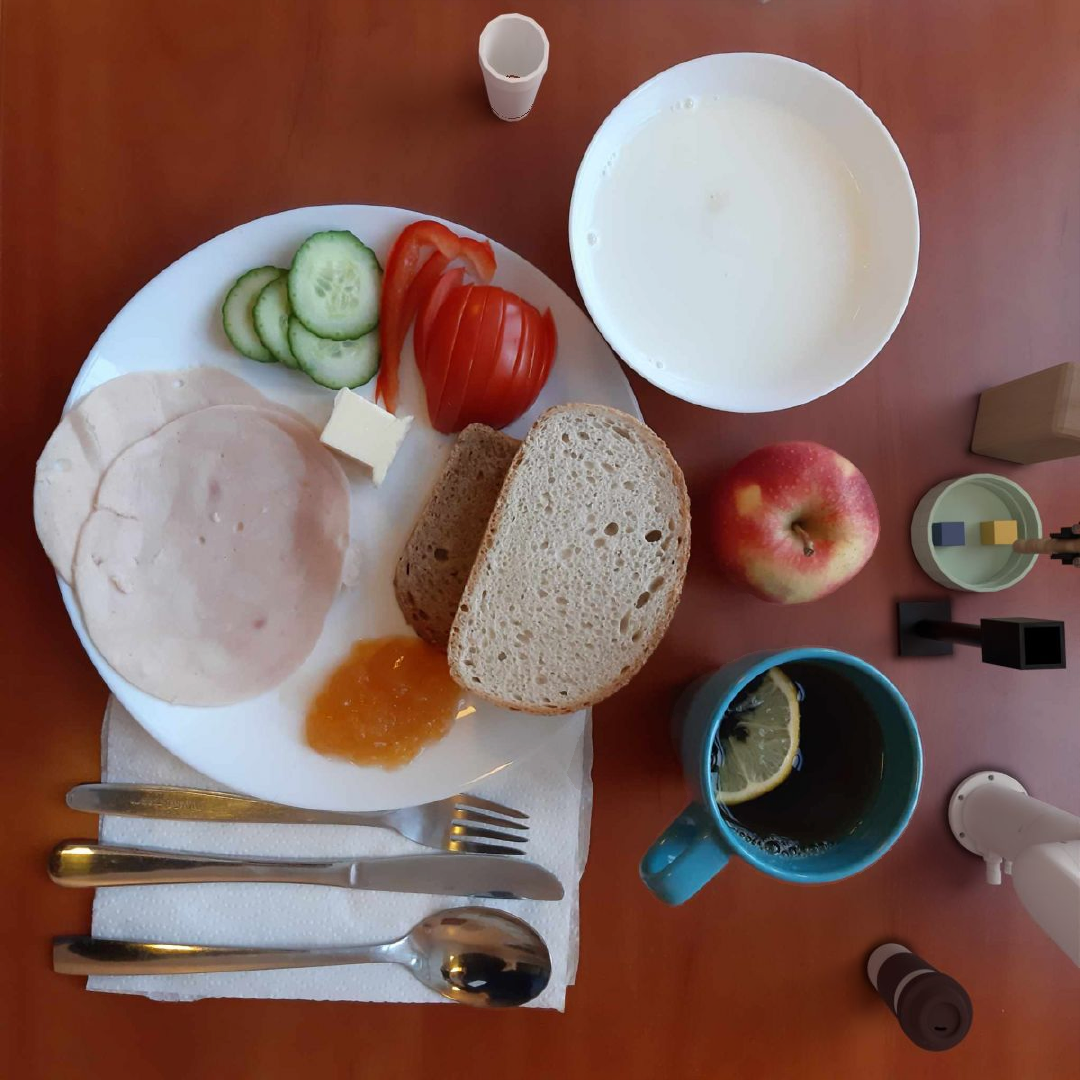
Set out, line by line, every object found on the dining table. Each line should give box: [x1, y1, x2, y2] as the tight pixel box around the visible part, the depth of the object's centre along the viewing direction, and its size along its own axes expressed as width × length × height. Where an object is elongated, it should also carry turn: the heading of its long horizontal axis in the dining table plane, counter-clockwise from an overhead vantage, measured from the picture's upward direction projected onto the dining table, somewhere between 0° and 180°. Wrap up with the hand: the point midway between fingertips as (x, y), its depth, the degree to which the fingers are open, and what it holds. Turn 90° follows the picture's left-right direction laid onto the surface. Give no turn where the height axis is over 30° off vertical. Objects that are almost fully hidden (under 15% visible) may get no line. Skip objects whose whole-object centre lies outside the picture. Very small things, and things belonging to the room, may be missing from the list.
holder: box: [895, 600, 1067, 671], centre depth 115 cm, size 8×8×28 cm
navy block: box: [931, 522, 965, 546], centre depth 127 cm, size 4×4×4 cm
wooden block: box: [971, 360, 1080, 466], centre depth 120 cm, size 10×10×20 cm
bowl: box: [910, 473, 1043, 593], centre depth 126 cm, size 17×17×6 cm
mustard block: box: [980, 520, 1017, 545], centre depth 127 cm, size 4×4×4 cm
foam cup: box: [478, 12, 550, 123], centre depth 120 cm, size 10×9×13 cm
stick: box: [1012, 537, 1080, 555], centre depth 109 cm, size 2×2×14 cm
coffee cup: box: [867, 943, 974, 1053], centre depth 119 cm, size 10×10×15 cm
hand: (1061, 546), depth 107 cm, fingers closed on stick, 2 cm apart
